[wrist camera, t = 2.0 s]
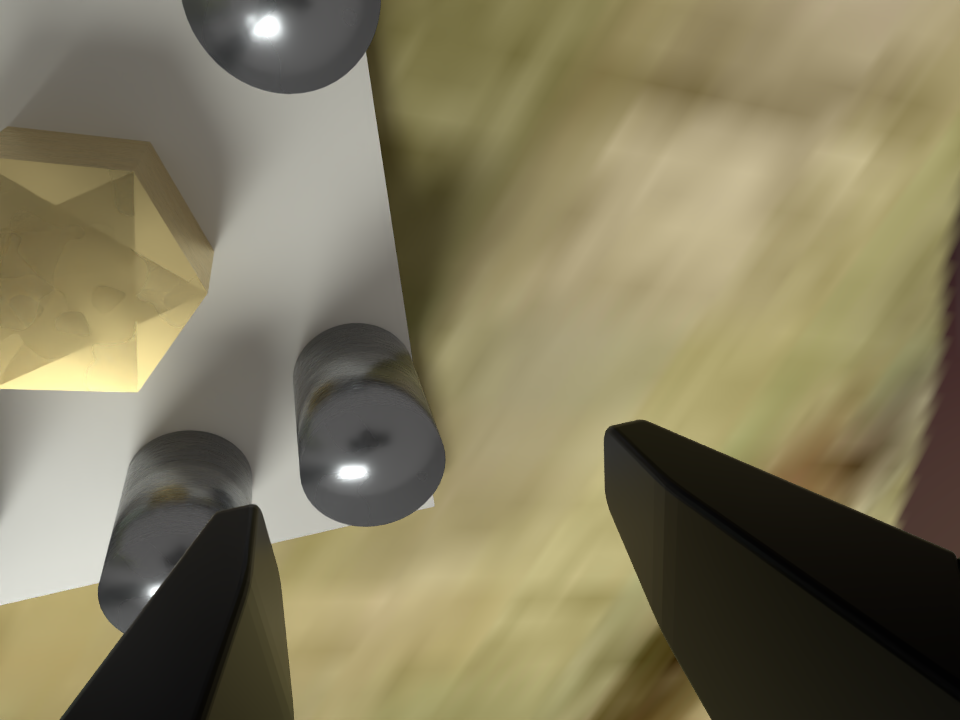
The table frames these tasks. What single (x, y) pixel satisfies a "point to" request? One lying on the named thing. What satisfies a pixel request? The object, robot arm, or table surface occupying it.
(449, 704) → the table surface
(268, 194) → the tray
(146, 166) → the yellow faceted gem
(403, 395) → the spacer posts
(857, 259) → the table surface
